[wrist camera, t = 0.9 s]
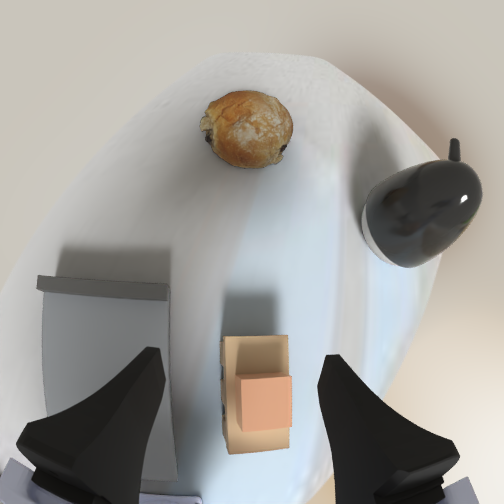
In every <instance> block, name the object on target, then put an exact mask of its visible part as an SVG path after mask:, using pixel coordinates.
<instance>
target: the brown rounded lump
mask: <svg viewBox="0 0 504 504" xmlns="http://www.w3.org/2000/svg"><path fill="white" fill-rule="evenodd" d="M205 114H206V117H202V119H201V121H200V123H201V124H200V129H201V131H202V132H203V131H206V137H205V140H206V141H207V142H208V143H209V144H210V145H211V147H212V150H213V152H215V153H216V154H217V155H218V156H219V157H220V158H222V159H223V160H225V161H226V162H228V163H229V164H231V165H233V166H238V167H242V168H264V167H266V166H268V165H270V164H272V163H274V164H277V163H278V162H280V161H281V160H282V158H283V156H282V155H281V153H282V152H283V151H284V150H285V148H286V147H287V144H288V142H289V141H290V139H291V136H292V132H293V122H292V119H291V116H290V114H289V112H288V110H287V109H286V108H285V107H284V106H283V105H282V104H281V103H280V102H279V100H278V99H277V98H275V97H271V96H268V95H265V94H264V93H260V92H257V91H236V92H231V93H229V94H227V95H225V96H224V97H222V98H220V99H218V100H216V101H213V102H211V103H210V104H209V107H208V109H207V110H206V111H205ZM215 119H216V120H215Z"/></svg>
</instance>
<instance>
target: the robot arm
mask: <svg viewBox="0 0 504 504" xmlns="http://www.w3.org/2000/svg"><path fill="white" fill-rule="evenodd" d="M165 383H166V376H165V372H164V367H163V362H162V357H161V352H160V348H157V347H149V346H147V347H145V348H144V349H143V350H142V351H141V352H140V353H139V354H138V355H137V356H136V357H135V358H134V359H133V360H132V361H131V362H130V363H129V364H128V365H127V366H126V367H125V368H124V369H123V370H122V371H120V372H119V373H118V374H117V375H116V376H115V377H114V378H113V379H111V380H110V381H109V382H108V383H107V384H105V385H104V386H103V387H102V388H100V389H99V390H98V391H96V392H95V393H93V394H92V395H90V396H89V397H87V398H86V399H84V400H83V401H81V402H79V403H77V404H75V405H73V406H72V407H70V408H68V409H66V410H64V411H61V412H59V413H57V414H54V415H52V416H49V417H46V418H43V419H40V420H36V421H33V422H29V423H27V425H26V427H25V428H24V430H23V432H22V433H21V435H20V437H19V439H18V440H17V442H16V446H17V448H18V449H19V451H20V452H21V453H22V454H23V455H24V456H25V457H26V458H27V459H28V460H29V461H30V462H31V463H32V464H33V465H34V466H35V467H36V470H35V472H33V471H32V470H31V469H29V468H28V467H26V466H24V465H23V464H21V463H20V462H18V461H16V460H15V459H13V458H10V459H9V461H8V463H7V465H6V467H5V469H4V471H3V473H2V475H1V477H0V501H1V502H2V503H4V504H195V503H199V504H202V499H201V498H200V497H198V496H168V495H154V494H144V493H140V485H141V476H142V469H143V463H144V457H145V452H146V447H147V443H148V439H149V436H150V433H151V430H152V427H153V424H154V421H155V418H156V415H157V413H158V410H159V407H160V404H161V401H162V398H163V393H164V388H165ZM317 388H318V396H319V404H320V408H321V412H322V416H323V420H324V424H325V427H326V431H327V435H328V439H329V443H330V447H331V452H332V460H333V468H334V479H335V496H336V497H335V498H336V504H479V502H478V499H477V497H476V494H475V492H474V490H473V487H472V485H471V483H470V480H469V478H468V477H465V478H463V479H461V480H459V481H457V482H455V483H453V484H451V485H449V486H447V487H446V488H444V489H442V486H441V484H443V483H444V480H443V477H442V476H443V475H444V474H445V473H446V472H448V471H449V470H450V469H451V468H452V467H453V466H454V465H455V464H456V463H457V461H458V460H459V458H460V455H459V453H458V451H457V449H456V447H455V445H454V443H453V441H452V440H449V439H446V438H443V437H441V436H438V435H436V434H433V433H431V432H429V431H427V430H425V429H423V428H421V427H419V426H417V425H416V424H414V423H412V422H411V421H409V420H407V419H406V418H404V417H403V416H401V415H400V414H398V413H397V412H396V411H394V410H393V409H392V408H391V407H389V406H388V405H387V404H386V403H384V402H383V401H382V400H381V399H380V398H379V397H378V396H377V395H376V394H375V393H373V392H372V391H371V390H370V389H369V388H368V386H367V385H366V384H365V383H364V382H363V381H362V380H361V379H360V378H359V377H358V376H357V375H356V373H355V372H354V371H353V370H352V369H351V368H350V366H349V365H348V364H347V363H346V362H345V361H344V359H343V358H342V357H341V356H340V355H339V354H336V355H326V357H325V360H324V364H323V368H322V371H321V375H320V378H319V382H318V385H317Z"/></svg>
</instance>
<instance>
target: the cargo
mask: <svg viewBox="0 0 504 504" xmlns="http://www.w3.org/2000/svg"><path fill="white" fill-rule="evenodd" d="M235 389H236V421H237V424H238V425H239V427H240V429H241V431H242V432H252V431H262V430H271V429H279V428H287V427H292V376H290V375H287V374H284V373H282V372H275V373H260V374H239V375H235Z"/></svg>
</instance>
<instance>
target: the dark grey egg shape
mask: <svg viewBox="0 0 504 504" xmlns="http://www.w3.org/2000/svg"><path fill="white" fill-rule="evenodd" d="M482 196H483V192H482V185H481V182H480V179H479V177H478V175H477V174H476V172H475V171H474V170H473V169H472V168H471V167H470V166H469V165H468V164H466V163H464V162H461V158H460V142H459V140H458V139H456V138H452V139H451V140H450V147H449V156H448V159H444V160H443V159H442V160H435V161H429V162H425V163H421V164H418V165H415V166H412V167H409V168H407V169H404V170H402V171H400V172H398V173H396V174H394V175H392V176H390V177H389V178H387V179H385V180H384V181H382V182H381V183H379V184H378V185H377V186H375V187H374V188H373V189H372V190H371V192H370V193H369V195H368V198H367V201H366V204H365V206H364V209H363V213H362V230H363V234H364V237H365V240H366V242H367V244H368V246H369V247H370V249H371V250H372V251H373V253H374V254H375V255H376V256H377V257H379V258H380V259H381V260H383V261H384V262H386V263H389V264H391V265H395V266H401V267H405V268H413V267H417V266H420V265H422V264H424V263H426V262H428V261H430V260H431V259H433V258H434V257H436V256H437V255H439V254H440V253H442V252H443V251H444V250H445V249H447V248H448V247H449V246H450V245H451V244H453V243H454V242H455V241H456V240H457V239H458V238H459V237H460V236H461V234H462V233H463V232H464V231H465V230H466V229H467V228H468V226H469V225H470V223H471V222H472V221H473V219H474V218H475V216H476V214H477V212H478V210H479V208H480V205H481V202H482Z"/></svg>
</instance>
